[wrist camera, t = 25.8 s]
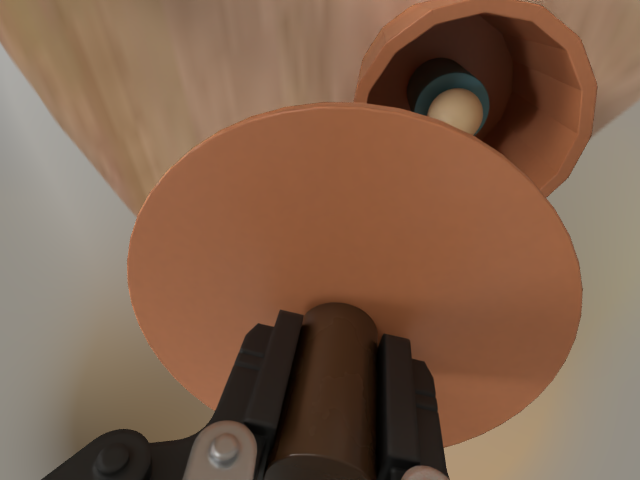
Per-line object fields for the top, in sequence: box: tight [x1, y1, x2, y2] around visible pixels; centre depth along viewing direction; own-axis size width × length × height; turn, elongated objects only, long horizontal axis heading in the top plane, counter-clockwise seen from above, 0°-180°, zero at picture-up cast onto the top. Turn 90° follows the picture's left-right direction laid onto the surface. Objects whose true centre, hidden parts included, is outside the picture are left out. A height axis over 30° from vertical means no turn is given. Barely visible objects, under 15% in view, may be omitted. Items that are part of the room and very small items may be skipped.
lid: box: [127, 102, 583, 480], centre depth 11 cm, size 14×14×6 cm
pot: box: [353, 0, 597, 198], centre depth 26 cm, size 12×12×12 cm
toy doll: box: [407, 58, 490, 136], centre depth 26 cm, size 5×5×10 cm
